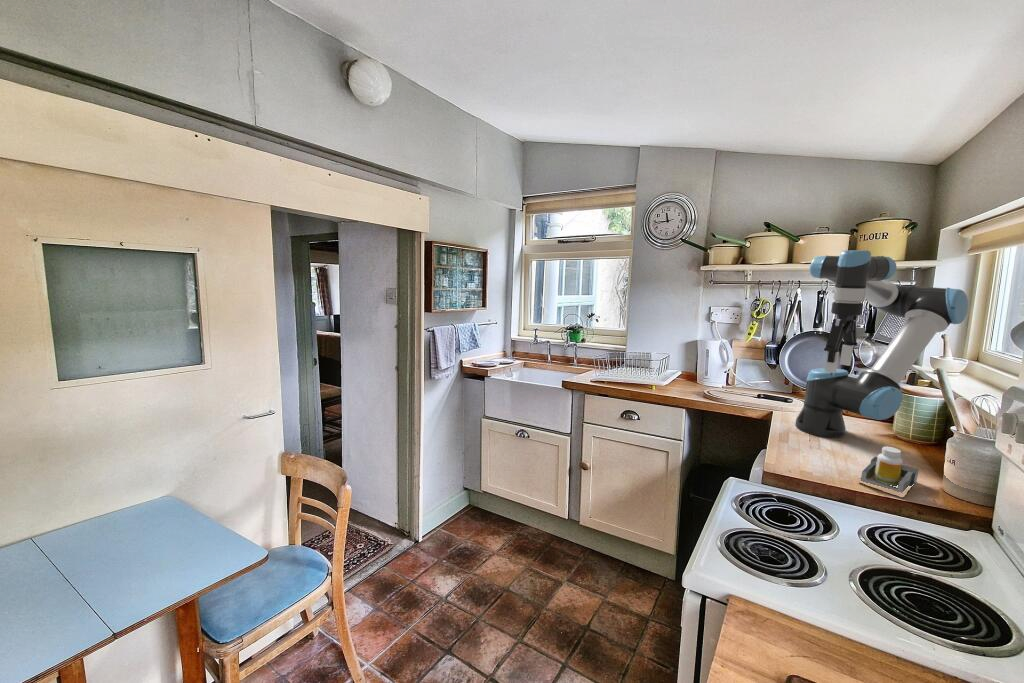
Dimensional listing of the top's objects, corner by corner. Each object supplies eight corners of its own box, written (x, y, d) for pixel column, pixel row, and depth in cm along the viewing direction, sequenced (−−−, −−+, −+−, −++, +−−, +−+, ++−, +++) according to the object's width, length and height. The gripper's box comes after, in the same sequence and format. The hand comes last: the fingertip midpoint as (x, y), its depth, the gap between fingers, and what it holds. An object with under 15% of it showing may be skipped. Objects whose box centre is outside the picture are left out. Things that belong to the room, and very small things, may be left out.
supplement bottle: (903, 487, 120) (909, 454, 118) (880, 485, 121) (886, 453, 119) (890, 477, 126) (896, 446, 124) (869, 475, 127) (875, 444, 125)
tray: (872, 468, 133) (875, 453, 132) (916, 481, 125) (919, 466, 124) (857, 483, 125) (860, 467, 124) (903, 498, 117) (906, 482, 116)
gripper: (846, 297, 143) (837, 359, 148) (818, 303, 129) (809, 372, 133) (875, 299, 138) (864, 364, 142) (849, 306, 123) (838, 378, 127)
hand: (837, 368), depth 138 cm, fingers open, 13 cm apart
